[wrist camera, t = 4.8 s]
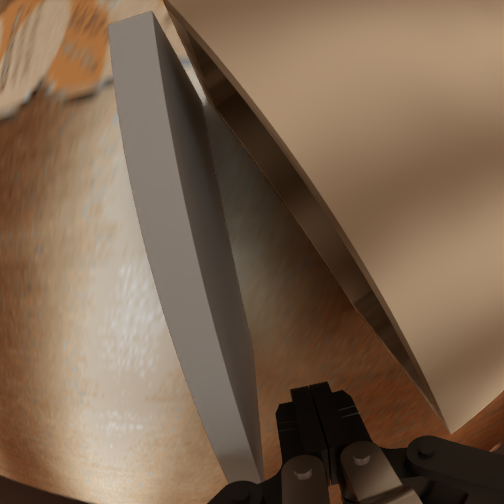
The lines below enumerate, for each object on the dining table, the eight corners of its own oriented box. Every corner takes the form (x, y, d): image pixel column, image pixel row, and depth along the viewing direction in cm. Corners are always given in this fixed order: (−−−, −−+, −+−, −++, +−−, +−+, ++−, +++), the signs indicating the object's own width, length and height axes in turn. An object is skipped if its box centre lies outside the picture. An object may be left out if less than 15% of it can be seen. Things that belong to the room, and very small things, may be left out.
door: (163, 111, 18) (68, 41, 6) (201, 102, 18) (151, 10, 6) (219, 356, 22) (207, 501, 10) (253, 350, 22) (266, 495, 10)
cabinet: (206, 98, 18) (158, -10, 6) (391, -2, 16) (489, -90, 4) (354, 308, 22) (450, 434, 9) (500, 187, 20) (628, 212, 8)
